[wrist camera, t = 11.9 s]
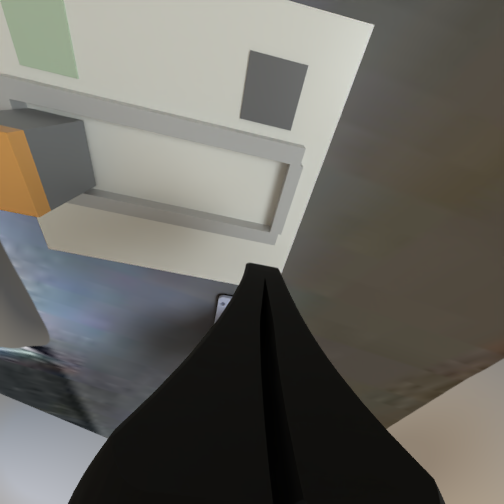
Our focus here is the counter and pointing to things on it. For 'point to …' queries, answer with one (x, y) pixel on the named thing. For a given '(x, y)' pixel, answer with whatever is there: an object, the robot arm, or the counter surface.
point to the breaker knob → (42, 161)
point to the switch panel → (185, 121)
